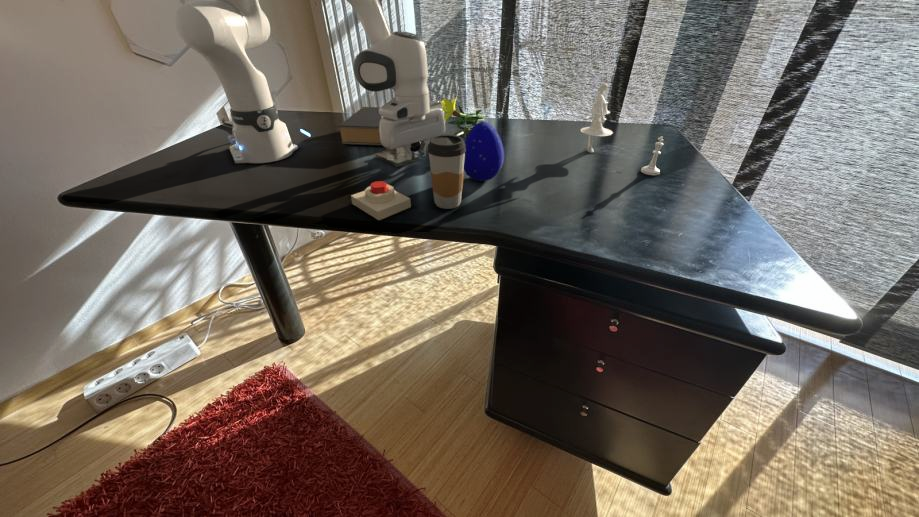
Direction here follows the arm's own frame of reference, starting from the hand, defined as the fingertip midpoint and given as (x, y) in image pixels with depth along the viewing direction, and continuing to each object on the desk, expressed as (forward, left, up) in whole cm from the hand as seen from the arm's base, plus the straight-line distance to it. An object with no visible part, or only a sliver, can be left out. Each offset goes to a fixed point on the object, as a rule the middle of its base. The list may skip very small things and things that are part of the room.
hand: (416, 156), depth 102 cm
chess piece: (+49, +45, -3) cm, 66 cm away
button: (+13, -21, +1) cm, 25 cm away
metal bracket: (-9, 0, -3) cm, 10 cm away
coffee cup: (+23, -9, -3) cm, 25 cm away
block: (+13, -21, -3) cm, 25 cm away
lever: (-6, 0, +4) cm, 7 cm away
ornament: (+19, +7, -3) cm, 20 cm away
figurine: (+29, +49, -3) cm, 57 cm away
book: (-32, +9, -3) cm, 34 cm away
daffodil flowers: (-5, +26, -3) cm, 27 cm away
